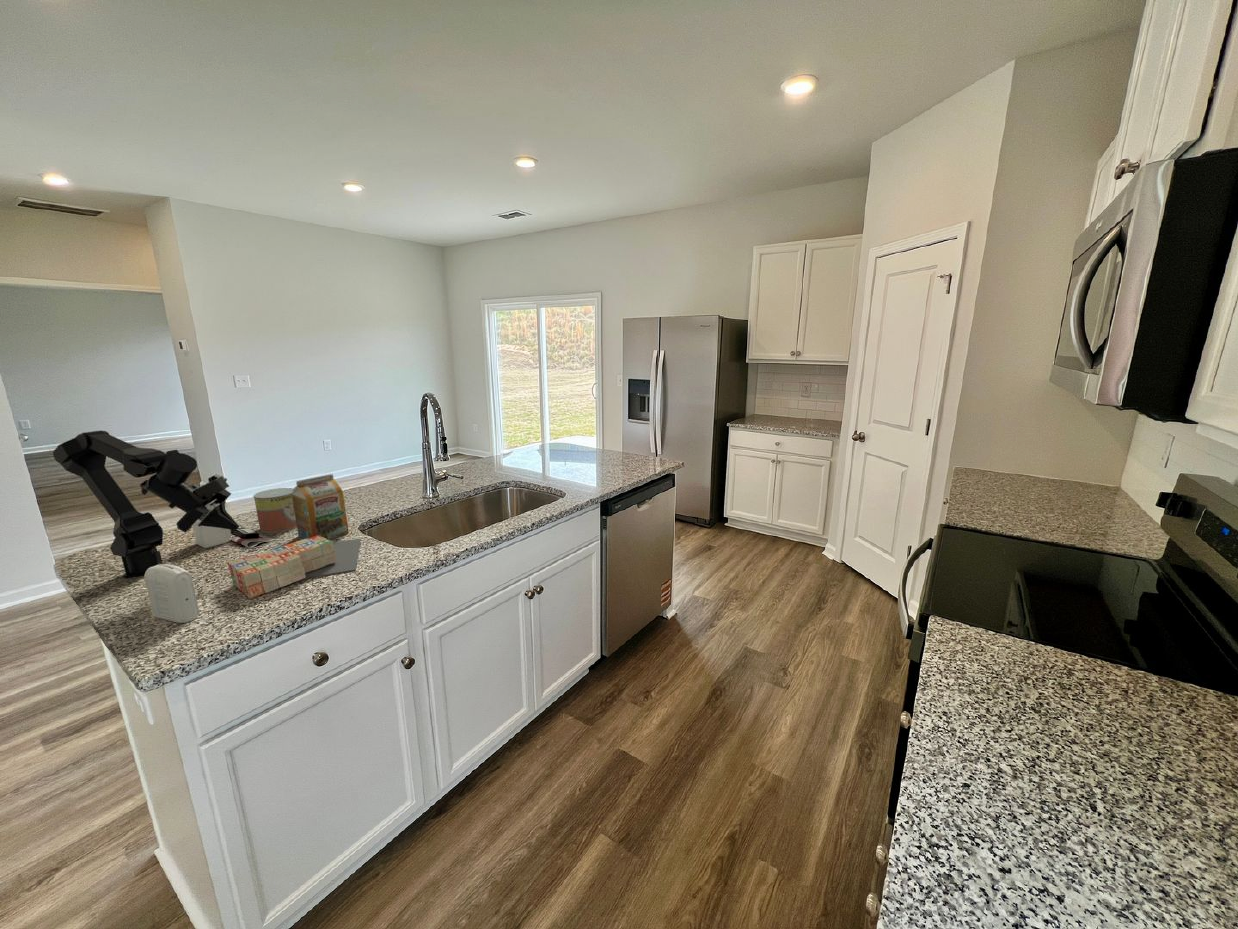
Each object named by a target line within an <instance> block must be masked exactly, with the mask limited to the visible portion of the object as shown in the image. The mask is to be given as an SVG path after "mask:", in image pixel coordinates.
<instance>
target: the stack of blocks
mask: <svg viewBox="0 0 1238 929" xmlns="http://www.w3.org/2000/svg"><path fill="white" fill-rule="evenodd" d="M333 542H334V541H333V540H331V539H326V538H324V537H321V536H319V535H317V536H314V537H311V538H308V539H300V540H297V541H295V542H292V543H291V542H290V543H288V544H285V545H284V544H283V545H282V546H279V547H275V548H273V549H270V550H266V551H263V552H260V553H256V554H252V555H249V556H246V557H242V558H238V559H235V560H232V561H229V562H227V566H228V569H229V574H230V575H231V579H232V584H233V585H234V586H235V588H237V589H238V590H240V591H241V593H242V594H244V595H245V596H246V597H248V598H249V599H253V598H256V597H258V596H261V595H263V594H268V593H270V592H273V591H275V590H277V589H279V588H284V587H285V586H288V585H291V584H293V583H296V582H298V581H302V580H301V579H303V578H306V576H305V573H307V572H310V571H312V570H316V569H319V568H322V567H324V566H326V565H329V564H332V563H334V562H337V559H336V554H335V551H334V546H333Z"/></svg>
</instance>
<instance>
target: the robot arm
mask: <svg viewBox="0 0 1238 929" xmlns="http://www.w3.org/2000/svg"><path fill="white" fill-rule="evenodd" d="M52 455H53V459H54V460H55V462H57V463H59V465H60V466H62V468H63V469H64V470H65V471H67V472H69V473H70V474H74V475H76V476H78V477H80V478H81V479H82V480H83V481H84V483H85V484H86V485H87V486H88V488H89V489H90V491H91V492H92V493H93V495H94V496H95V498H96V499H97V500H98V502H99V503H100V504H101V506H102V507H103V508H104V510H105V511H106V512H107V513H108V515H109V517H110V518H111V519H112V521H113V522H114V525H113V530H112V534H113V536H114V539H113V541H112V543H111V545H110V551H111V553H112V554H113V556H117V557H121V561H122V565H123V569H124V572H125V573H124V574H123V575H122V578H123V579H124V578H126V579H127V578H130V577H137V576H144V575H145V572H146V571H147V569H148V568H150V567H153V566H156V565H160V564H164V562H163V560H162V559H163V558H162V556H161V551H160V550H158V549H157V547H159V546H162V545H163V543H164V540H163V538H164V535H163V534H164V530H163V528H162V526H161V524H160V523H159V522H158V521H157V520H156V519H155V518H154V516H153V514H152V513H150V512H148V511H147V512H144V513H143V512H140V511H138V510H137V509H136V507H135V506H134V504H133V503H132V502H131V501H130V499H129V498H128V496H127V495H126V494H125V493H124V491H123V490H122V488H121V487H120V485H119V484H118V483H117V481H116V480H115V479H114V478H113V476H112V475H111V474H110V472H109V471H108V469H107V468H106V462H107V458H109V459H111V460H114V461H116V462H118V463H120V464H122V467H123V471H125V472H126V473H127V474H128V475H131V476H132V477H134V478H138V479H139V478H144V477H147V476H150V477H149V478H148V479H146V480H144V481H142V482H141V483H139V486H140V489H141V491H140V492H141V494H143V495H144V496H145V495H147V494H148V493H151V494H153V495H155V496H157V497H158V498H160V499H162V500H164V501H165V502H167V503H168V504H169V505H168V507H169V508H171V509H174V508H178V509H179V510H181V511H182V512H184V513H185V514H184V515H183V516H182V517H181V518H180V519H179V520H178V521H177V522H176V528H177V530H180V532H181V531H182V532H183V533H187V532H188V531H190V530H191V529H193V527H192V525H193V524H194V523H195V522H196V521H197V520H198V519H199V520H200V521H201V522H200V523H199V524H198V526H208V527H217V528H224V529H231V531H237V530H238V529H239V528H240V525H239V524H238V523H237V522H236V521H235V519H234V518H233V517H232V516H231V515H230V514H229V513H228V511H227V510H226V500H227V499H228V498H229V497H230V496H231V495H232V492H230V491H229V490H227V488H229V487H230V485H229V484H228V482H227V481H228V479H227V478H226V477H224V476H223V475H221V476H220V475H219V474H214V475H212V476H210V477H208V479H207V480H208V482H207V483H205V484H203V485H201V486H200V485H198V484H196V483H193V484H191V485H190V484H188V483H187V480H188V479H189V478H190V476H192V474H193V473H194V472H195V470H196V468H197V467H198V462H197V460H196V459H195V458H194V457H192V456H191V455H189V454H186V453H183V452H179V451H178V449H172V450H167V451H166V452H164V451H162V450H160V449H156V448H153V447H152V448H151V447H150V448H149V447H147V448H146V447H138V446H135V445H133V444H131V443H129V442H126V441H124V440H122V439H120V438H118V437H115V436H113V435H111V434H110V433H109V432H108V431H105V430H93V431H87V432H81V433H79V434H77V435H76V436H75V437H74V438H71V439H69V440H67V441H63V442H62V443H60V444H58V445H57V446H56V448H55V449H54V450H53V451H52Z"/></svg>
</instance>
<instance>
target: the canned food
mask: <svg viewBox="0 0 1238 929" xmlns="http://www.w3.org/2000/svg"><path fill="white" fill-rule="evenodd" d="M293 489H294V488H292V487H280V488H279V487H277V488H272V489H266V490H263V491H259V492H257V493H255V494H253V499H254V504H255V510H256V516H257V521H258V526H259V532H261V533H263V534H277V533H278V534H279V533H284V532H287V531H291V530H294V529H297V524H296V518H295V512H294V506H293V500H292V491H293Z"/></svg>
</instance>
